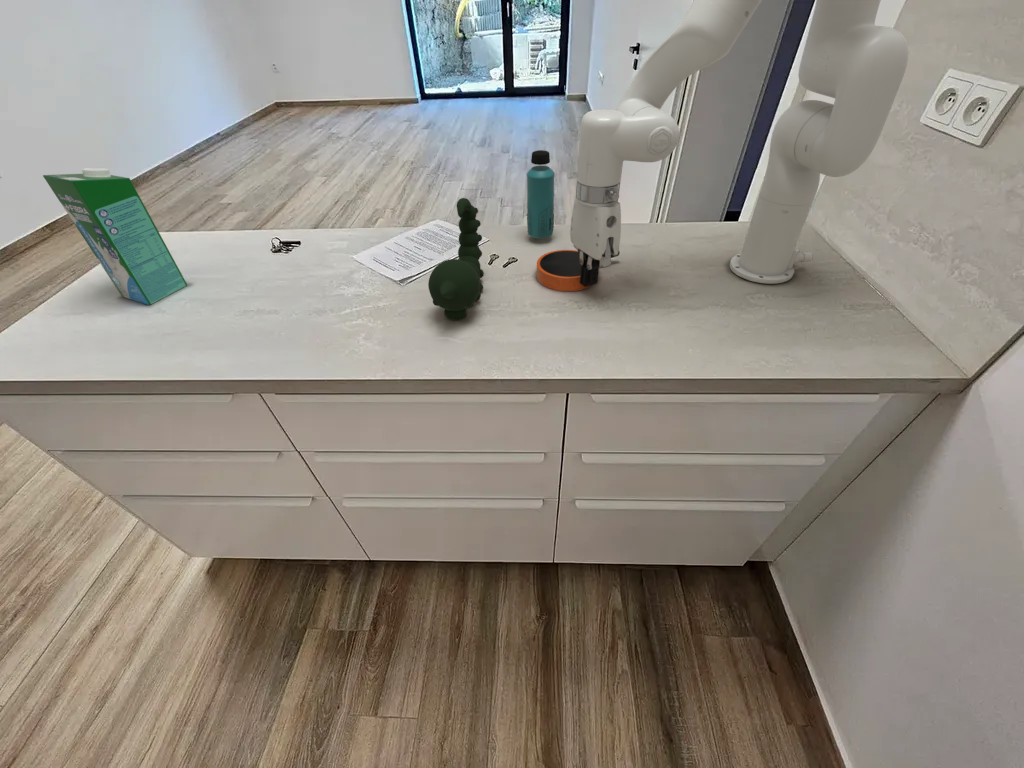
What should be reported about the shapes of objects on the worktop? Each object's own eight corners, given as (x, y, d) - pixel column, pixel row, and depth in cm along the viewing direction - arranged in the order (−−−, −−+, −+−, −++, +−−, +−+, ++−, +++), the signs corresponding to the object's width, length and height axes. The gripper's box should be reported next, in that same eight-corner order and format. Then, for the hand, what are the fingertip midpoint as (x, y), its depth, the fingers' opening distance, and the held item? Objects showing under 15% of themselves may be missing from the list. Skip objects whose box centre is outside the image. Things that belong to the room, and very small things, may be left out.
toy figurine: (453, 279, 106) (422, 335, 86) (445, 190, 95) (407, 231, 75) (495, 281, 105) (473, 338, 85) (491, 191, 93) (465, 233, 73)
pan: (556, 297, 96) (557, 283, 94) (525, 270, 104) (525, 258, 102) (636, 273, 102) (638, 260, 100) (600, 250, 111) (602, 237, 109)
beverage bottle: (551, 245, 114) (554, 156, 100) (524, 243, 115) (523, 155, 101) (555, 234, 118) (558, 147, 105) (529, 232, 119) (528, 147, 106)
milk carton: (188, 285, 104) (123, 164, 87) (149, 305, 98) (71, 180, 81) (161, 277, 107) (93, 160, 90) (121, 297, 101) (41, 174, 84)
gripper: (642, 200, 80) (626, 295, 92) (590, 175, 90) (582, 264, 102) (605, 209, 77) (595, 305, 89) (556, 182, 87) (553, 272, 99)
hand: (588, 283), depth 95 cm, fingers closed
